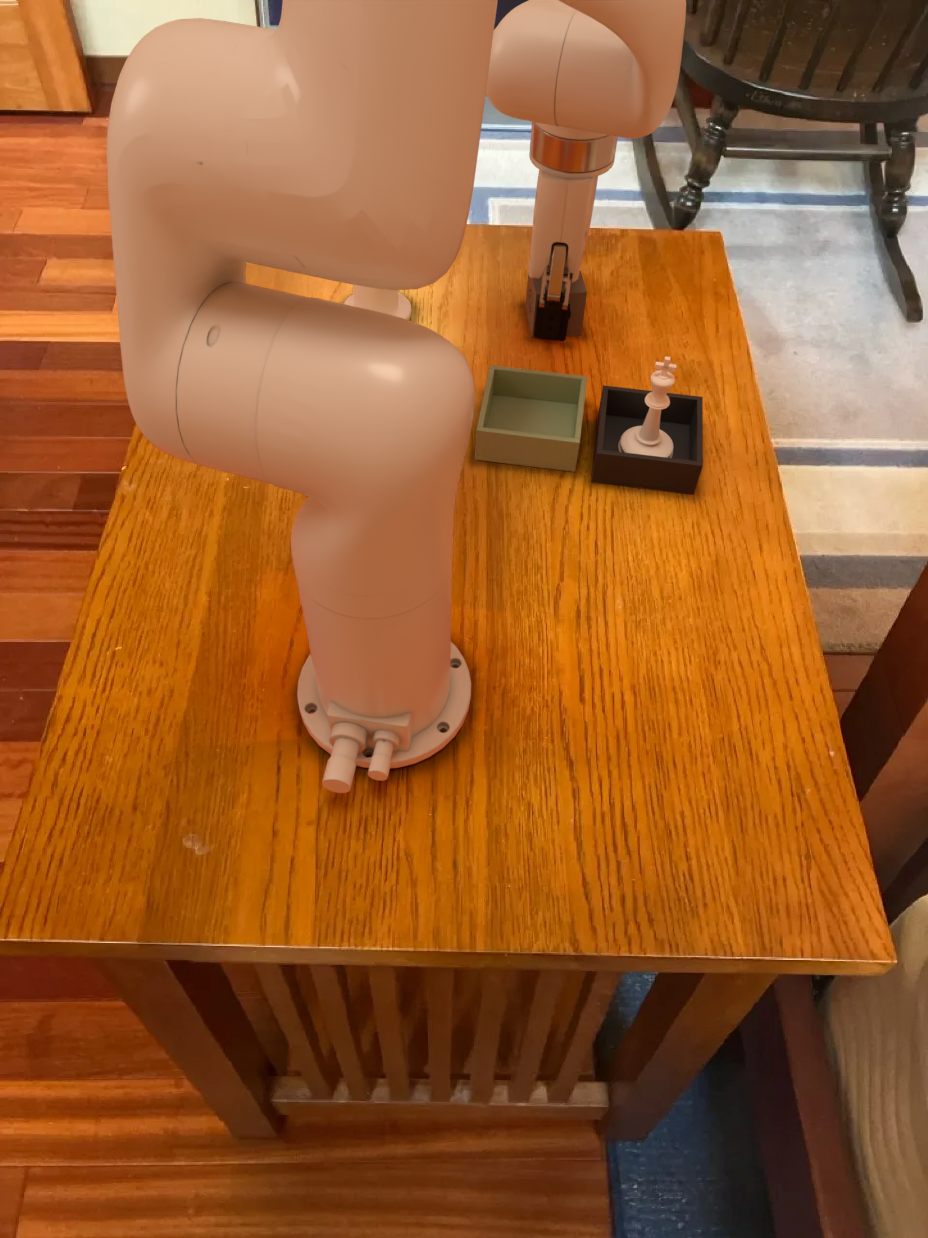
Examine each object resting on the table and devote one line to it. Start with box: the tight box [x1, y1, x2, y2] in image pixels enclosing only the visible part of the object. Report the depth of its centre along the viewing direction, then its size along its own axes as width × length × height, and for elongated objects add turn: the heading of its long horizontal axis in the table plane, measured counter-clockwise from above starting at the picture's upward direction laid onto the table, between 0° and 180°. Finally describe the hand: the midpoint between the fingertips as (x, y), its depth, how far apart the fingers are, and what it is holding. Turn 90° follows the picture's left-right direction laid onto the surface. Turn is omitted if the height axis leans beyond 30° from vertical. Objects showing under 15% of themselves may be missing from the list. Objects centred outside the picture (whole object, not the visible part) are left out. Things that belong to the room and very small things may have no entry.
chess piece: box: [618, 356, 677, 458], centre depth 80 cm, size 5×5×10 cm
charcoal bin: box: [590, 385, 704, 495], centre depth 83 cm, size 9×9×4 cm
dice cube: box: [524, 267, 588, 339], centre depth 94 cm, size 5×5×5 cm
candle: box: [343, 285, 412, 321], centre depth 86 cm, size 7×7×25 cm
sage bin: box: [474, 364, 588, 473], centre depth 84 cm, size 9×9×4 cm
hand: (553, 316), depth 95 cm, fingers closed on dice cube, 5 cm apart
